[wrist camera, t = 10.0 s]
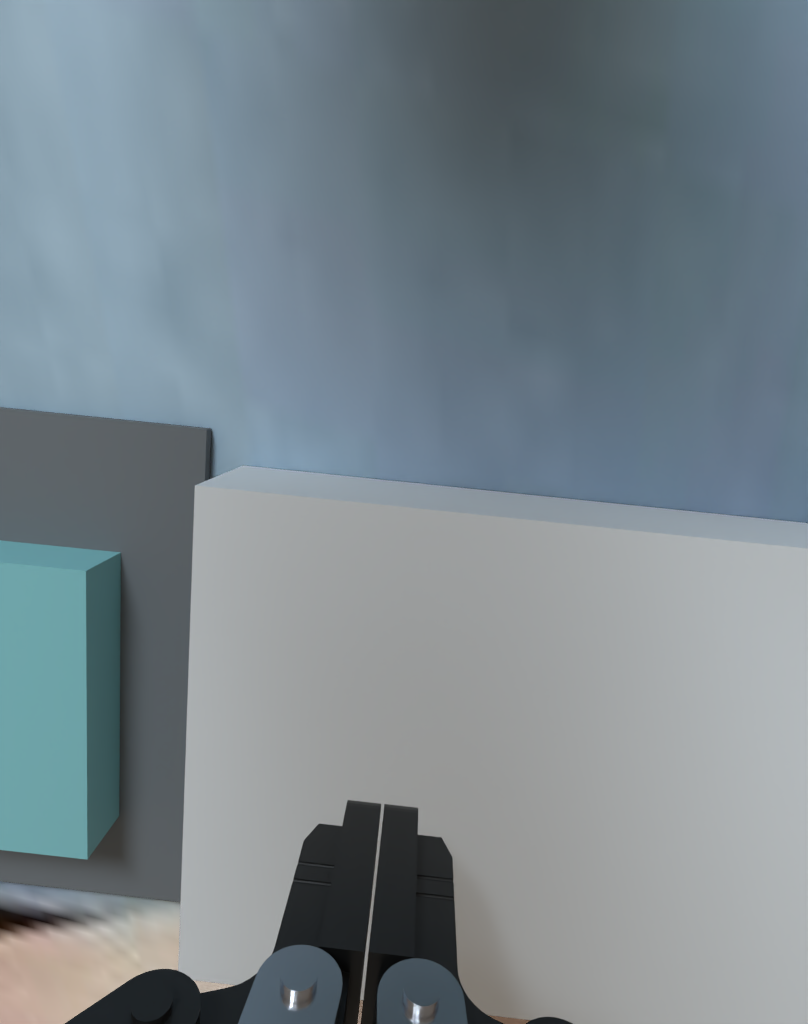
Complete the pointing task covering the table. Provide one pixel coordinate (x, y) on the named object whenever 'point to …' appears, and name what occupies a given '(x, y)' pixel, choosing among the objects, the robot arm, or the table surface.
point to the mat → (143, 616)
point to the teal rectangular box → (58, 698)
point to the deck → (509, 734)
